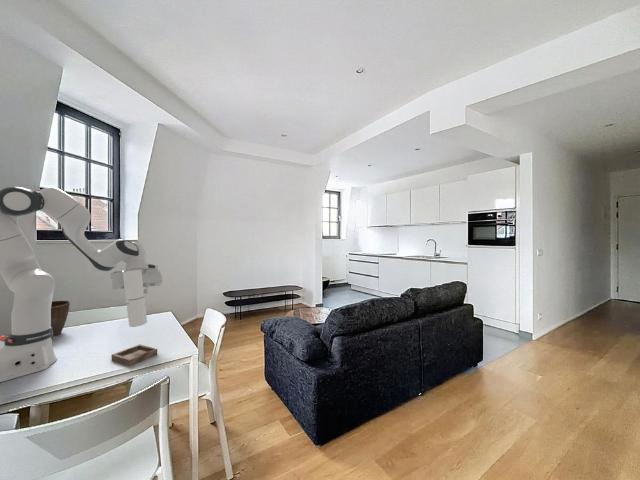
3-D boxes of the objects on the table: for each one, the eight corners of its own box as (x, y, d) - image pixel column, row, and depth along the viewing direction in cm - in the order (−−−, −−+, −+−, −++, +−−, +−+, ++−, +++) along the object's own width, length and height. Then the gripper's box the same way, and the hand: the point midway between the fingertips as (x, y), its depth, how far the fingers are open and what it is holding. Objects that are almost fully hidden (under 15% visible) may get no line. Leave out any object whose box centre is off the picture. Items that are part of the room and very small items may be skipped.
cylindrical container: (141, 326, 126) (134, 272, 124) (125, 327, 126) (118, 273, 124) (150, 320, 133) (144, 269, 131) (135, 321, 133) (129, 270, 131)
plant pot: (41, 341, 135) (41, 309, 135) (23, 337, 140) (23, 306, 140) (76, 331, 149) (76, 302, 149) (59, 328, 154) (58, 299, 154)
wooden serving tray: (129, 366, 113) (129, 360, 112) (111, 360, 117) (111, 354, 117) (157, 354, 124) (157, 349, 123) (139, 349, 128) (139, 344, 128)
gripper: (110, 267, 128) (111, 292, 121) (161, 265, 141) (164, 287, 134) (110, 275, 131) (111, 300, 124) (159, 273, 144) (162, 295, 137)
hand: (139, 293), depth 129 cm, fingers closed on cylindrical container, 4 cm apart
